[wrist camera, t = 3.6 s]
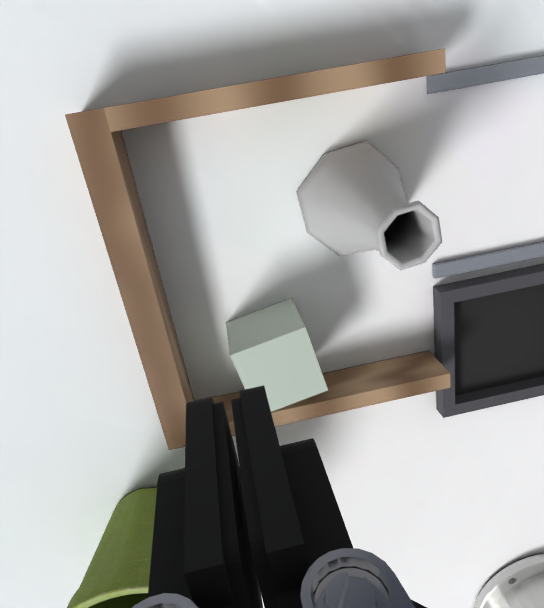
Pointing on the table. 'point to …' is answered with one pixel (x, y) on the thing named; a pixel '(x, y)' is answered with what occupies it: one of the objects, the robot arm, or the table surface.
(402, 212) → the flask
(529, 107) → the table surface
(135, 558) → the plant pot
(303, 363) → the grey green block
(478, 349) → the frame
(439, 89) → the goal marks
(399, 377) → the wooden u-shaped frame
